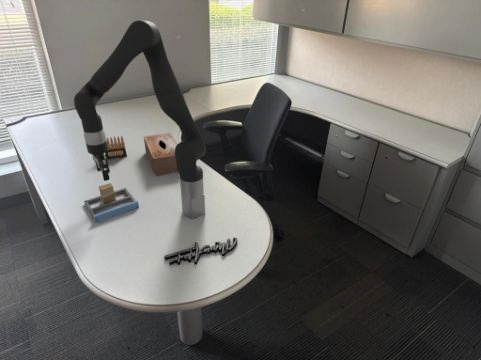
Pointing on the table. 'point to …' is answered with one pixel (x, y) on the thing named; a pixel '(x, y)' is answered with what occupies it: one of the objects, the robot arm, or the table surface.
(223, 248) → the nameplate
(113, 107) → the table surface
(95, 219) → the organizer
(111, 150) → the ammunition clip
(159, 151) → the tissue box cover
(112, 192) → the plug block
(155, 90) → the robot arm
